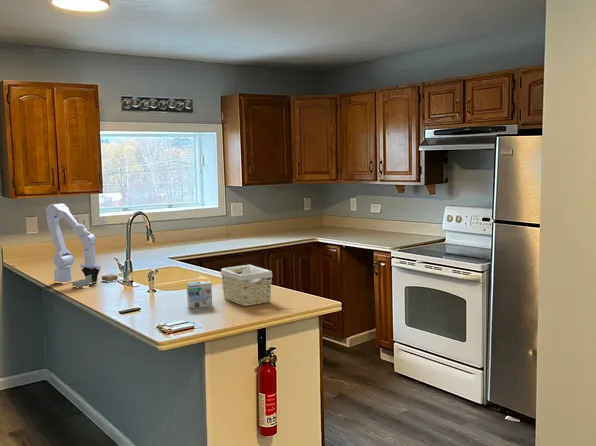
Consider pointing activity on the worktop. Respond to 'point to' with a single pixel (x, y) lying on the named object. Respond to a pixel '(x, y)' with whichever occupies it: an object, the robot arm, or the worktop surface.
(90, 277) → the sage cube
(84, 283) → the slate block
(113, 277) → the walnut block
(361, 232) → the worktop surface
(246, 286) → the storage basket
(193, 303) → the light bulb box
